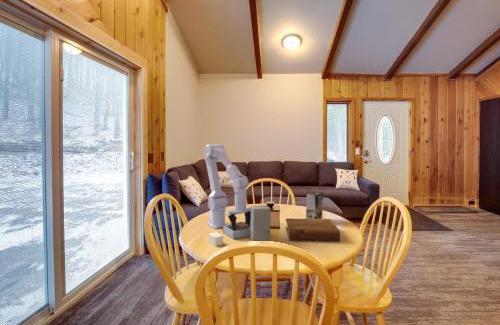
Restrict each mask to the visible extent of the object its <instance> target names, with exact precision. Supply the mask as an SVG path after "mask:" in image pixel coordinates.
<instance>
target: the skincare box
mask: <svg viewBox="0 0 500 325" xmlns="http://www.w3.org/2000/svg"><path fill="white" fill-rule="evenodd" d="M250 208H251V220H250V221H251V226H250V236H249V238H250V240H251V241H252V242H253V241H271V212H272V211H271V207H269V206H268V205H251V206H250Z"/></svg>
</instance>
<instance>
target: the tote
mask: <svg viewBox="0 0 500 325" xmlns="http://www.w3.org/2000/svg"><path fill="white" fill-rule="evenodd" d="M243 222H244V223H245V221H243ZM250 226H251V220H250V224H249V227H248V229H244V230H240V231H235V232H234V229H232V225H231V224H227V225H226V226H223V227H222V232H223V234H225V235H226V236H228V237H229V238H231V239H233V240H238V239H242V238H246V237H250Z"/></svg>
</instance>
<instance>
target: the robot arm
mask: <svg viewBox="0 0 500 325" xmlns="http://www.w3.org/2000/svg"><path fill="white" fill-rule="evenodd" d="M226 150H227V149H226V147H225V145H223V144H206V145H205V146H204V149H203V154H204V159H205V163H206V169H207V175H208V180H209V184H210V191H211V193H210V194H209V195H208V196H207V200H208V202H207V206H208V209H210V210H209V214H208V218H209V219H208V220H209V221H208V223H207V225H209V226H210V227H212V228H214V229H219V228H223V226H226V225H228V224H227V223H226V216H227V218H228V219H229V221H230V225H232V229H234V230H236V223H237V218H238V217H237V216H236V215H240V214H243V215H244V222H245V223H246V224H248V227H249V224H250V221H251V207H247V188H248V187H249V185H250V181H249V179H248V176H246V175H244V174H242V173H241V171H240V170H239V168H238V166H237V165H235V164H233V163H232V162H231V160H230V158H229V157H228V154H227V153H226V152H227V151H226ZM219 160H220V163H221V164H222V165H224V167H225V168H226V174H227V175H228V177H229V178H230V180H231V181H232V183H231V184H232V185H231V186H232V188H233V193H234V209H231V210H227V211H226V209H227V208H228V205H229V200H228V198H227V194H226V192H224V191H223V190H222V187H221V181H220V176H219V170H218V167H217V166H218V165H217V162H218V161H219Z"/></svg>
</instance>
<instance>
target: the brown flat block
mask: <svg viewBox="0 0 500 325" xmlns="http://www.w3.org/2000/svg"><path fill="white" fill-rule="evenodd" d="M285 222H286V225H287V226H285V231H286V233H287V237H288V241H289V242H338V243H339V242H340V240H341V231H340V229H339V228H338V227H337V226H336V224H335V223H334V222H333V221H332V220H331V219H330V218H322V219H306V218H286V219H285Z"/></svg>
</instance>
